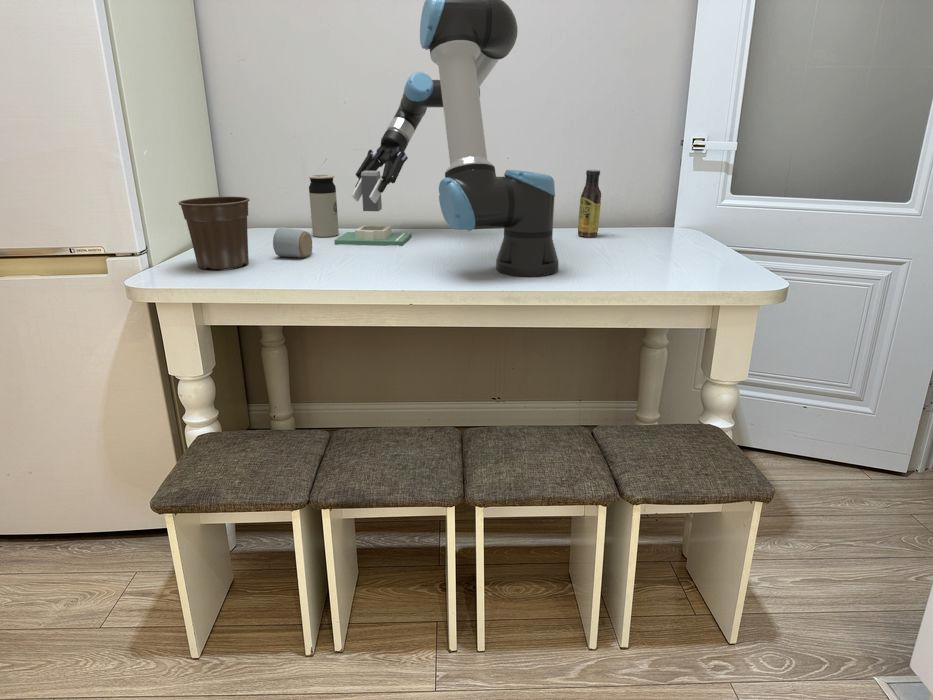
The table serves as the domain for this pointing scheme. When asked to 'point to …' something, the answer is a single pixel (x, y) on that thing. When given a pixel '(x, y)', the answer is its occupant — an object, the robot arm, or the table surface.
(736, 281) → the table surface
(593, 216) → the sauce bottle
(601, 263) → the table surface
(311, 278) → the table surface
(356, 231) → the board
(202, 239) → the plant pot
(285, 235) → the ceramic mug
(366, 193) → the plug
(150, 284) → the table surface
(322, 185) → the travel mug
